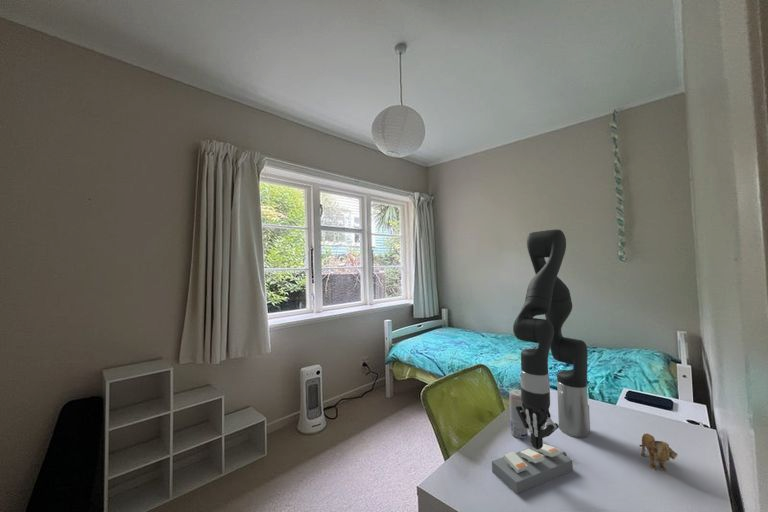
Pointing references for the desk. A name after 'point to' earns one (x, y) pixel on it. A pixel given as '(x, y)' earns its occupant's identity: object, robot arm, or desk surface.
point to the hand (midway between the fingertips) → (536, 447)
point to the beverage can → (516, 415)
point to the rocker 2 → (548, 450)
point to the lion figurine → (657, 451)
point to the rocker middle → (532, 455)
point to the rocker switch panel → (532, 471)
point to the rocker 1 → (515, 462)
